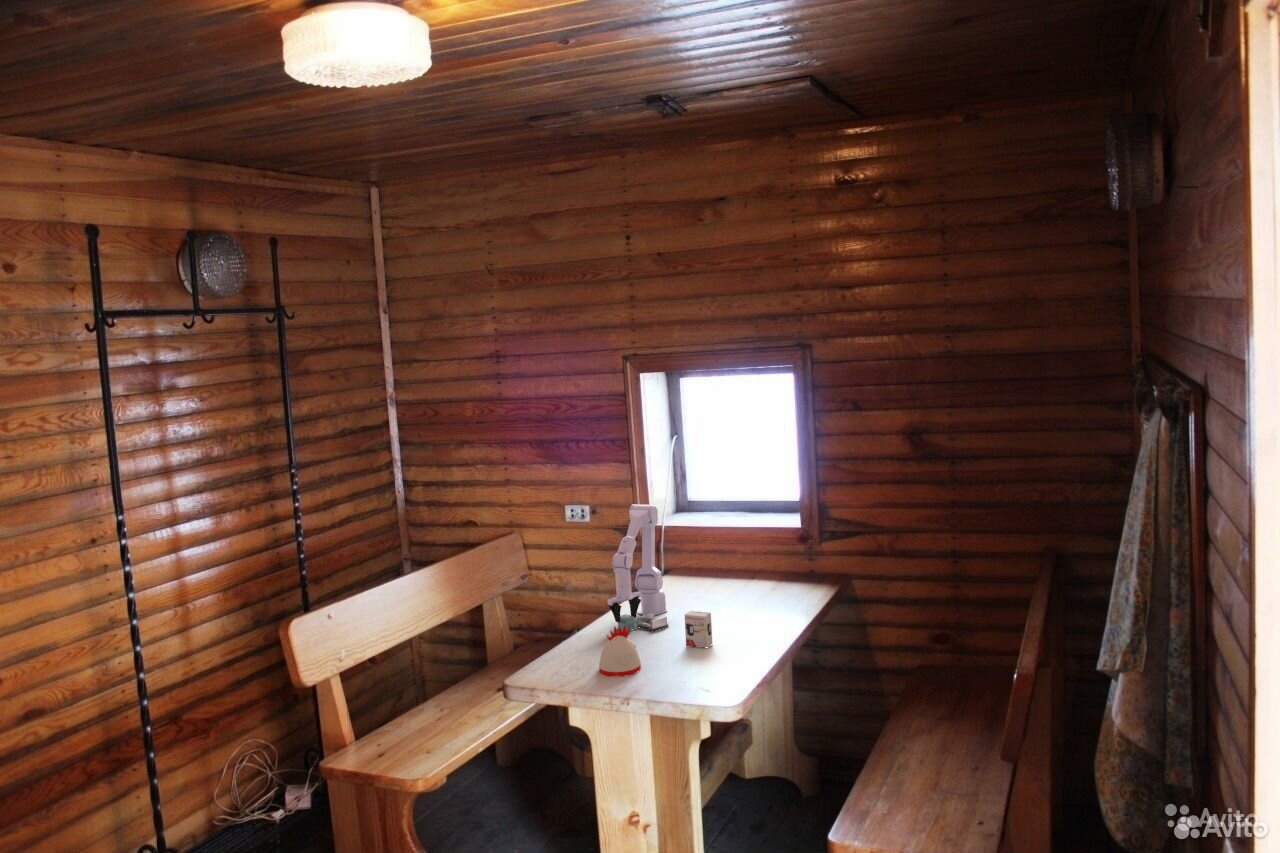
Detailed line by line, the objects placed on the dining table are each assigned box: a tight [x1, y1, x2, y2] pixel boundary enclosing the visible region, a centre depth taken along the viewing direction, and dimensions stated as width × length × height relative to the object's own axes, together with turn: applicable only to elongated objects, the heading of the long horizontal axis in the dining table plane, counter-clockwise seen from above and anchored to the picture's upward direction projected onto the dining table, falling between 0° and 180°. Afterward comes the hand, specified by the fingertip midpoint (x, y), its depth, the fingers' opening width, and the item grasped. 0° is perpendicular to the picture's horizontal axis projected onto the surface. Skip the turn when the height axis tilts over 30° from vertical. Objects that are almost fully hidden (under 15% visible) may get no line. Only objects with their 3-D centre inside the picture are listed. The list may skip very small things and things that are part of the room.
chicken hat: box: [598, 625, 642, 677], centre depth 341 cm, size 14×14×15 cm
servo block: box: [617, 613, 638, 631], centre depth 386 cm, size 4×8×6 cm, turn 39°
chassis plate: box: [636, 613, 669, 632], centre depth 387 cm, size 8×9×4 cm
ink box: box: [684, 610, 713, 648], centre depth 361 cm, size 9×5×12 cm, turn 62°
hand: (625, 619), depth 386 cm, fingers open, 7 cm apart
